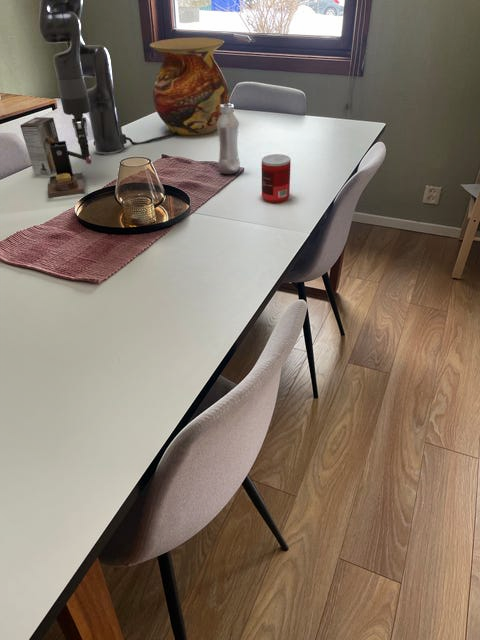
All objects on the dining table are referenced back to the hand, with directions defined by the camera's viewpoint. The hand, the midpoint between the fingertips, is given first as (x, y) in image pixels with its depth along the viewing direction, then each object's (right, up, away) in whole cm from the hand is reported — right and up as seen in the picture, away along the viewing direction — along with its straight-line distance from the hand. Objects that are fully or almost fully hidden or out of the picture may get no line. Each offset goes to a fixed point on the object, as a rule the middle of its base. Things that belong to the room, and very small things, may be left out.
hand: (85, 152), depth 150 cm
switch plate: (-4, -13, -4) cm, 14 cm away
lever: (-4, -2, 0) cm, 4 cm away
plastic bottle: (+43, -4, +6) cm, 44 cm away
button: (-4, -10, -6) cm, 12 cm away
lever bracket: (-7, -8, +3) cm, 11 cm away
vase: (+28, +25, +47) cm, 61 cm away
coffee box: (-15, -3, +11) cm, 19 cm away
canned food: (+56, -16, -11) cm, 60 cm away
